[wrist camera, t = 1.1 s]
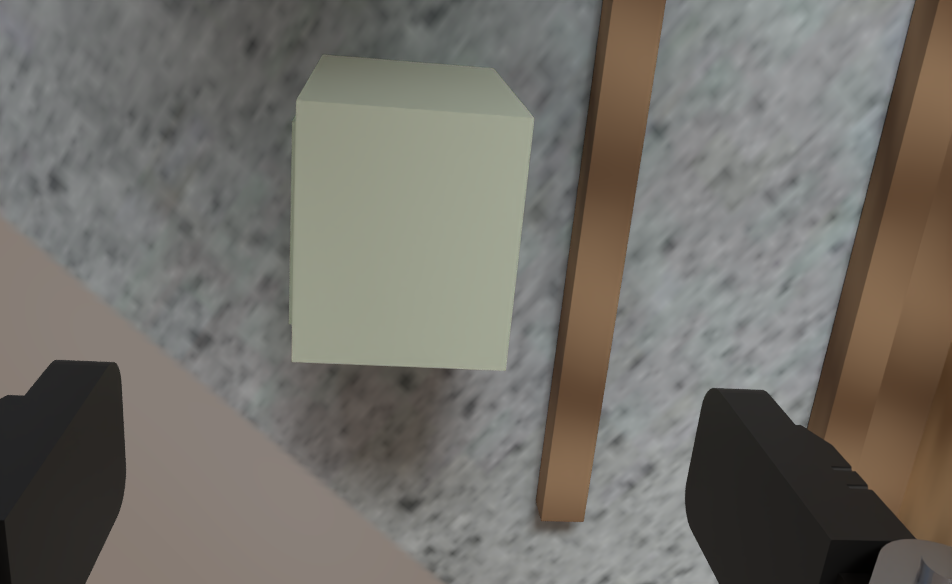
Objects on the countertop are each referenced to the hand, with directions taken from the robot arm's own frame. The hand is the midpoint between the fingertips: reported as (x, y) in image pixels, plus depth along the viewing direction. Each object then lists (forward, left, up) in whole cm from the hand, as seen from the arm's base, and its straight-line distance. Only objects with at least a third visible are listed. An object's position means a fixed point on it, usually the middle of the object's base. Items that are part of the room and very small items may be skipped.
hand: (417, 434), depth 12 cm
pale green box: (0, 0, -16) cm, 16 cm away
